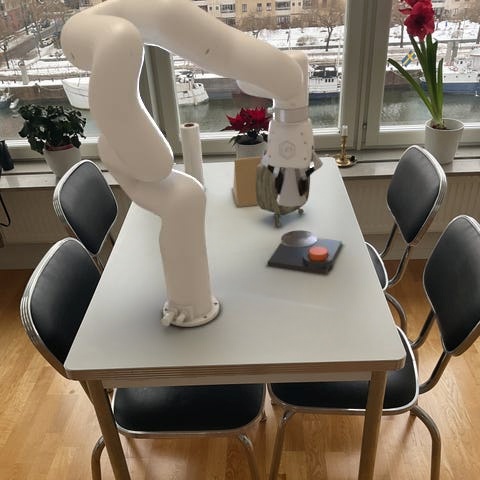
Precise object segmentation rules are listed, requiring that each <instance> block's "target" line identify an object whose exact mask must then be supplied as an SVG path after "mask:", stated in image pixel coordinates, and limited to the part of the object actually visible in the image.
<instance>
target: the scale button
mask: <svg viewBox="0 0 480 480" xmlns="http://www.w3.org/2000/svg"><path fill="white" fill-rule="evenodd" d="M327 253H328V251H327V249H326V248H324V247H313V248H311V249H310V250H309V258H310V259H311V260H315V261H322V260H325V259H327Z"/></svg>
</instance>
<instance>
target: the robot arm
mask: <svg viewBox="0 0 480 480" xmlns="http://www.w3.org/2000/svg"><path fill="white" fill-rule="evenodd" d="M59 36H60V39H59V42H60V48H61V51H62V54H63V55H64V57H65V59H66V60H67V61H68V62H69V63H70V64H71V65H72V66H73V67H75V68H76V69H78V70H81V71H83V72H85V73H86V72H87V73H89V80H88V92H87V93H88V94H87V95H88V97H87V98H88V100H87V101H88V108H89V112H90V116H91V117H92V120H93V121H94V123H95V125H96V126H97V128H98V129H99V131H100V132H99V135H98V138H97V152H98V153H97V154H98V157H99V158H100V161H101V163H102V165H103V166H104V168H105V169H106V170H107V171H108V173H109V174H110V175H111V177H112V178H113V179H114V180H115V182H116V183H117V184H118V186H119V187H120V188H121V189H122V191H123V192H124V193H125V194H126V195H127V196H128V198H129V199H130V200H131V201H132V202H133V203H134V204H135V205H136V206H138V207H140V208H141V209H143V210H144V211H148V212H150V213H151V214H154V215H155V216H157V217H159V218H160V219H161V228H160V230H159V234H158V245H159V252H160V255H161V263H162V269H163V276H164V281H165V288H166V294H167V301H166V302H165V303H164V305H163V308H162V314H163V317H162V318H161V320H160V323H161V324H162V325H163V326H164V327H169V326H170V324H172V325H174V326H177V327H184V328H191V327H197V326H202V325H204V324H207V323H209V322H210V321H212V320H214V319H215V318H216V317H217V316H218V314H219V313H220V302H219V300H218V299H217V297H215V296H214V295H212V289H211V280H210V269H209V260H208V259H209V258H208V249H207V240H206V221H205V220H206V211H207V193H206V189H205V190H204V188H203V187H202V185H201V184H200V183H199V182H198V181H197V180H196V179H195V178H193V177H191V176H190V175H187V174H185V172H182V171H179V170H177V169H174V165H175V161H174V160H175V157H174V153H173V150H172V147H171V145H170V144H169V141H168V140H167V139H166V138H165V136H164V134H163V133H162V131H161V130H160V128H159V127H158V126H157V124H156V122H155V121H154V119H153V117H152V116H151V115H150V113H149V112H148V110H147V107H146V106H145V105H144V103H143V101H142V99H141V96H140V89H139V87H140V86H139V83H140V76H141V72H142V67H143V65H144V59H145V45H148V46H154V47H159V48H161V49H162V50H165V51H167V52H169V53H170V54H172V55H174V56H176V57H179V58H181V59H182V60H184V61H186V62H188V63H190V64H191V65H193V66H194V67H197V68H198V69H201V70H203V71H205V72H207V73H209V74H213V75H215V76H219V77H221V78H226V79H227V78H228V79H231V80H236V84H237V86H238V87H239V89H240V90H241V91H242V92H243V93H245V94H246V95H250V96H254V97H258V98H264V99H265V98H266V99H270V100H272V102H273V103H272V104H273V105H272V106H270V107H269V106H268V107H267V114H269V115H272V119H270V120H269V124H268V130H267V131H268V134H267V145H266V146H267V147H266V152H265V153H264V155H263V156H262V159H261V163H262V164H263V165H265V166H266V167H267V168H268V170H269V171H270V172H271V173H272V174H273V177H275V189H277V194H280V191H281V186H282V183H283V180H284V175H283V173H282V172H281V171H282V167H283V168H296V169H299V170H300V174H301V179H300V180H299V194H300V196H303V195H304V194H305V192H307V190H308V177H309V176H310V177H311V176H312V174H314V173H315V172H316V171H318V170H319V169H320V168H322V167H323V161H322V160H321V159H320V157H319V156H318V154H317V153H316V151H315V138H314V130H313V124H312V119H311V118H309V63H310V62H309V54H308V53H307V52H306V51H304V50H301V49H285V50H284V49H283V50H281V49H280V48H278V47H276V46H274V45H272V44H270V43H269V42H266V41H264V40H262V39H260V38H257V37H255V36H253V35H250V34H249V33H246V32H245V31H242V30H240V29H237V28H235V27H233V26H231V25H229V24H227V23H225V22H223V21H221V20H220V19H219V18H217V17H215V16H213V15H212V14H211V13H209V12H207V10H204V9H203V8H201V6H198V5H197V4H195V3H194V2H192V1H191V0H104V1H101V2H100V3H98V4H95V5H93V6H90V7H88V8H86V9H84V10H82V11H79V12H77V13H75V14H74V15H71V16H70V18H68V19H67V20H66V22H65V23H64V24H63V26H62V29H61V31H60V35H59ZM312 163H313V165H311V164H312ZM309 165H310V168H308V167H309Z"/></svg>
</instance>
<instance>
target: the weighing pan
mask: <svg viewBox="0 0 480 480" xmlns="http://www.w3.org/2000/svg"><path fill="white" fill-rule="evenodd" d="M318 238H319V237H318V236H317V234H315V233H314V232H311V231H308V230H301V229H300V230H291V231H288V232H285V233H283V234H282V236H281V238H280V241H281V242H282V243H283V244H284V245H286V246H288V247H292V248H306V247H310V246H312V245H314V244H315V243H316V242H317V240H318ZM281 242H280V243H281Z"/></svg>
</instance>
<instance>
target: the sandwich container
mask: <svg viewBox="0 0 480 480" xmlns="http://www.w3.org/2000/svg"><path fill="white" fill-rule="evenodd" d="M262 158H263V156H253V157H252V156H251V157H250V156H249V157H243V158H235V159H234V163H233V164H234V166H233V167H234V169H233V182H232V183H233V184H232V191H233V196H234V201H235V203H236V206H237V207H238V208H241V207H242V208H243V207H252V206H259V205H258V203H257V198H256V187H255V175H256V168H257V166H258V165H259V164H260V163H261V159H262Z"/></svg>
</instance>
